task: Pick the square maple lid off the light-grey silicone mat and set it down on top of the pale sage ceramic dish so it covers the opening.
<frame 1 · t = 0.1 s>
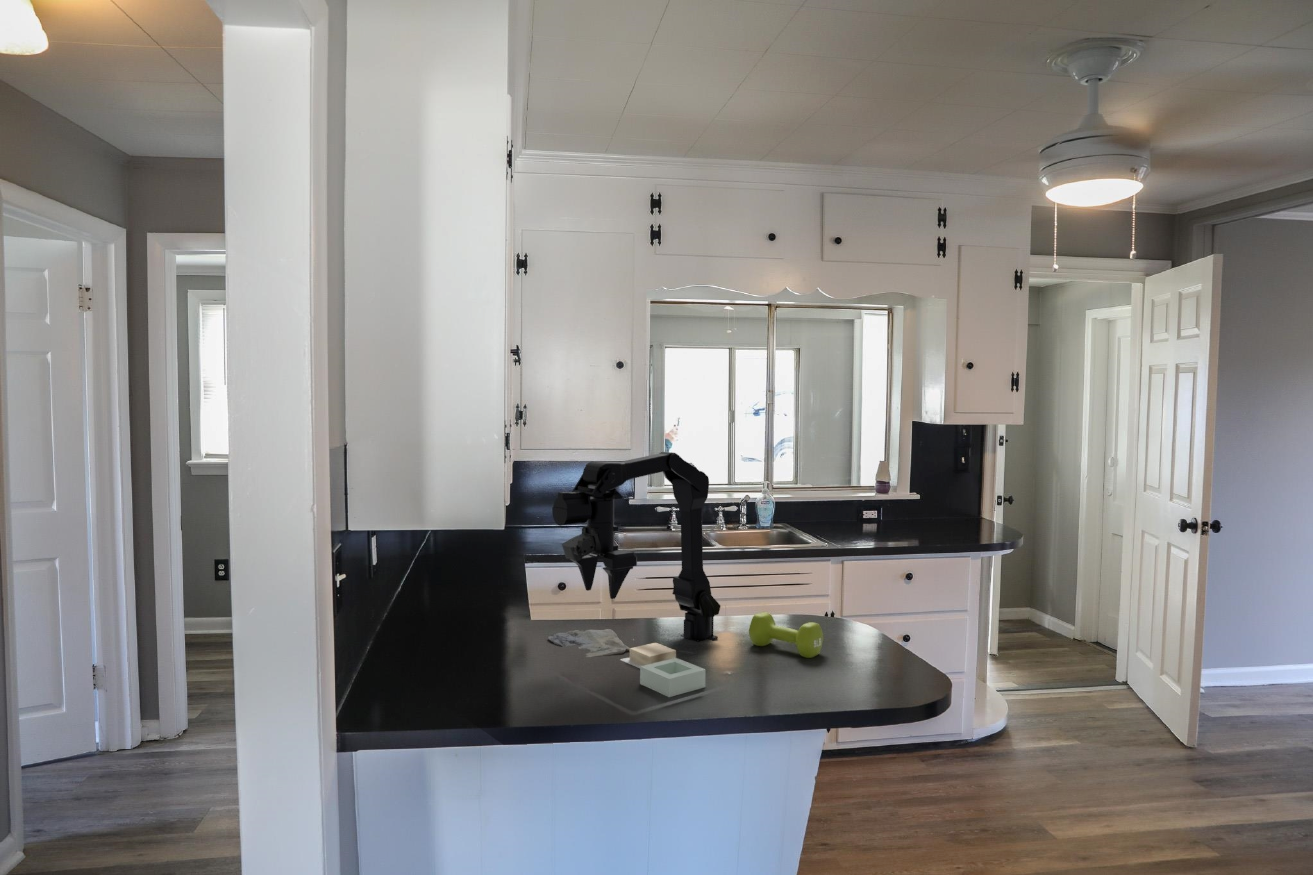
hand: (600, 594, 177), 15 cm above the counter, fingers open, 9 cm apart
mat: (652, 663, 176), on the counter
dish: (672, 688, 161), on the counter
dumbbell: (785, 651, 187), on the counter
crumpled grey cloth: (589, 649, 188), on the counter
lid: (652, 660, 176), point 1 cm above the counter, touching mat
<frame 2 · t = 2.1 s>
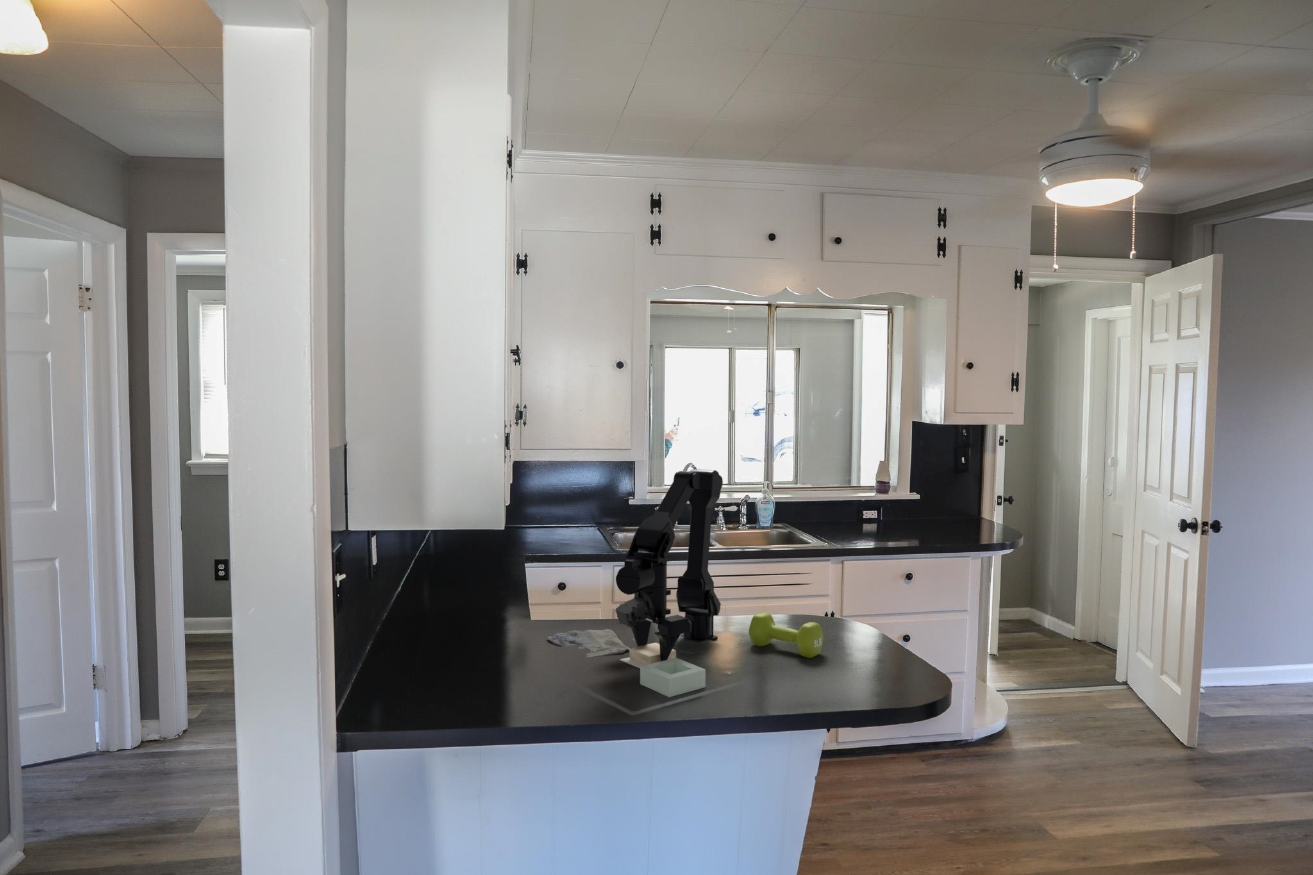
hand: (652, 657, 176), 1 cm above the counter, fingers closed on lid, 7 cm apart
lid: (652, 660, 176), point 1 cm above the counter, touching gripper, mat
everything else where it was.
when the fingers open (6 cm above the counter, at t = 5.9 s): lid stays where it is, resting on dish.
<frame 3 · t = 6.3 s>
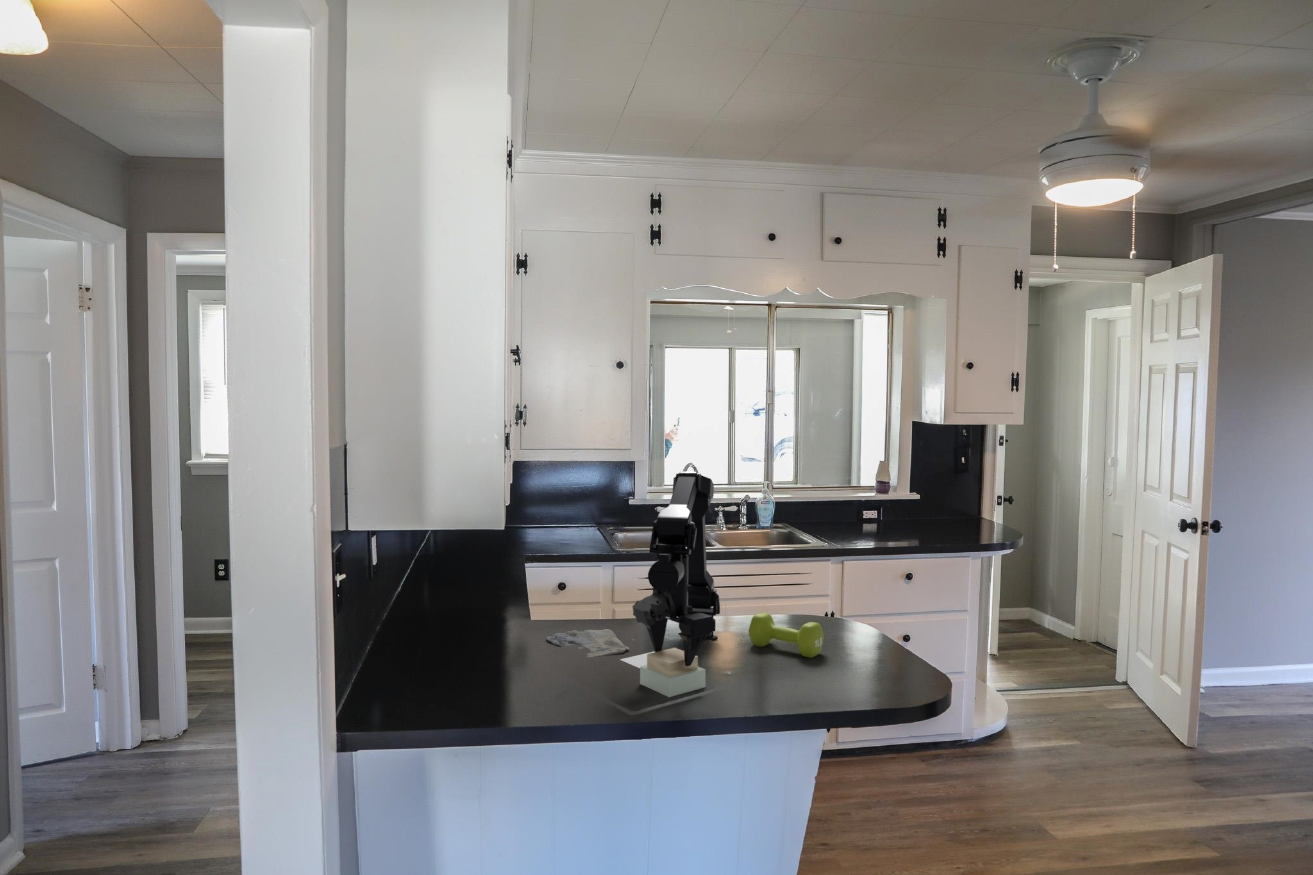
hand: (672, 659, 161), 6 cm above the counter, fingers open, 9 cm apart
lid: (672, 667, 161), point 4 cm above the counter, touching dish
everything else where it was.
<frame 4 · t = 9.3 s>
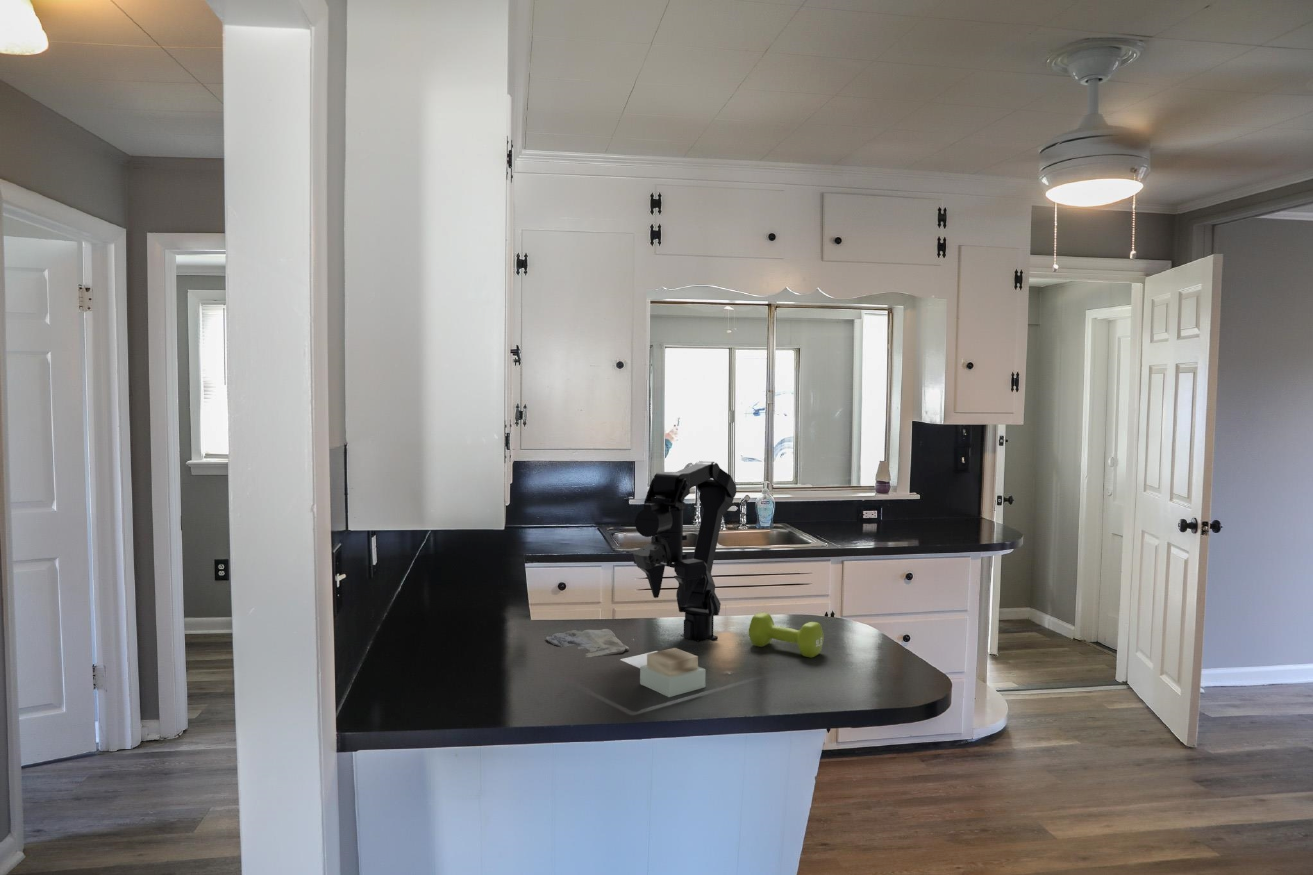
hand: (669, 601, 181), 12 cm above the counter, fingers open, 9 cm apart
nothing on the counter moved.
at the end: lid 0.1 cm off-centre on the dish, point 4.0 cm above the dish's base; lid tilted 0°; the gripper is holding nothing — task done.
